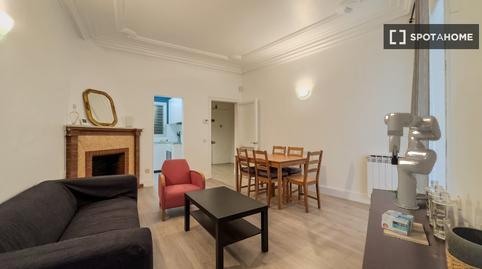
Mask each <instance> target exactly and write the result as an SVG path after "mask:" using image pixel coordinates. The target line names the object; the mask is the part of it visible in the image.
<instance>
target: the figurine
mask: <svg viewBox="0 0 482 269" xmlns="http://www.w3.org/2000/svg"><path fill="white" fill-rule="evenodd" d="M387 191H388V192H389V193H390V192H391V193H394V194H395V199H396V200H398V187H396V189H394V190H391V189H388V190H387Z"/></svg>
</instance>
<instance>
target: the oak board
mask: <svg viewBox="0 0 482 269" xmlns="http://www.w3.org/2000/svg"><path fill="white" fill-rule="evenodd" d="M383 236H386V237H392V238H395V237H396V239H399V238H400V240H404V241H408V242H412V243H417V244H420V245H421V244H422V245H426V246H429V242H428V241H429V240H428V239H427V234H426V232H425V230H424V226H423V224H422V223H418V222H414V225H413V230H412V231H411V232H410V233H409V234H408V235H404V234H400V233H397V232H394V231H391V230H388V229H385V228H383Z"/></svg>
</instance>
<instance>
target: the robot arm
mask: <svg viewBox="0 0 482 269" xmlns="http://www.w3.org/2000/svg"><path fill="white" fill-rule="evenodd" d="M383 122H384V125H386V126H387V131H386V132H387V134H386V137H389V138H388V139H389V140H388V153H389V154H391V159H390V161H391V162H390V164H391V165H392V166H396V169H397V188H398V196H397V198H398V199H396V200H395V201H394V205H395V206H396V207H398V208H401V209H406V210H412V211H413V210H415V211H416V210H419V209H420V206H419V204H422V203H423V201H422V200H421V199H417V186H418V185H417V183H418V182H417V181H418V180H417V178H416V177H415V175H414V174H416V175H421V176H422V175H423V176H428V175H430V174H431V172H432V171H433V168H434V167H435V164H436V162H437V159H438V157H437V156H438V154H437V152H436V150H434V149H430V148H426V145H425V144H424V143H423V142H424V141H426V142H427V141H428V142H437V141H439V140H440V139H441V137H442V132H441V129H440V125H439V121H438V120H437V118H436V117H435V116H434V115H417V114H412V113H410V112H389V113H387V114H385V115H384V118H383ZM404 128H409V129H410V128H411V129H410V130H409V131H408V134H407V135H408V136H407V138H408V139H407V140H408V144H409V146H408V148H407V150H406V151H405V153H404V157H399V154H400V151H401V139H402V138H401V137H404ZM422 141H423V142H422Z"/></svg>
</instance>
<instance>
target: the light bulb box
mask: <svg viewBox="0 0 482 269" xmlns="http://www.w3.org/2000/svg"><path fill="white" fill-rule="evenodd" d="M414 221H415V216H414V215H411V214H408V213H403V212H401V211H396V210H392V209H389V210H387V211H385V212H384V213H382V214H381V228H383V229H384V228H385V229H388V230H391V231H394V232H397V233H400V234H404V235H408V234H409V233H410V232H411V231H412V230H413V225H414V223H415V222H414Z"/></svg>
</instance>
